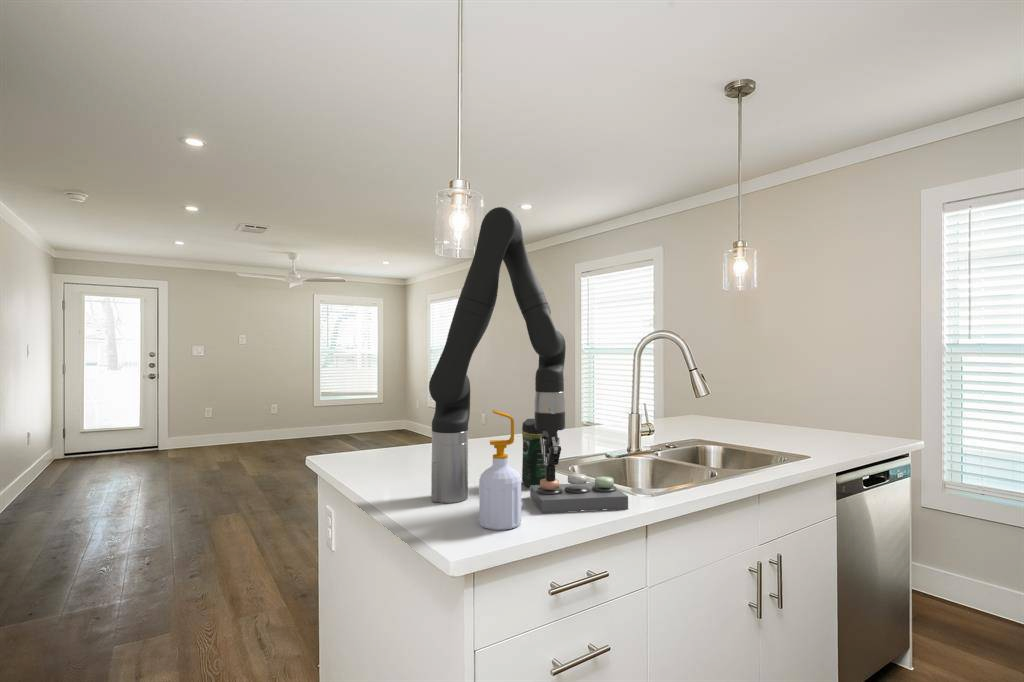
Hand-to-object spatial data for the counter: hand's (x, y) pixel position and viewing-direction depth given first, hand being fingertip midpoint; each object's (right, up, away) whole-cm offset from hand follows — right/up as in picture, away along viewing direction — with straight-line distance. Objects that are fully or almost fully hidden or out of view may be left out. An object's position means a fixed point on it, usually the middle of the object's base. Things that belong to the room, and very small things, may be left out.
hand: (550, 480), depth 129 cm
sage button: (+14, -2, +2) cm, 14 cm away
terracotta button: (0, -2, 0) cm, 2 cm away
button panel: (+7, -6, +1) cm, 9 cm away
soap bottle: (-12, -6, -15) cm, 20 cm away
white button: (+7, -1, +1) cm, 7 cm away
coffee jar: (-2, -6, +19) cm, 20 cm away
